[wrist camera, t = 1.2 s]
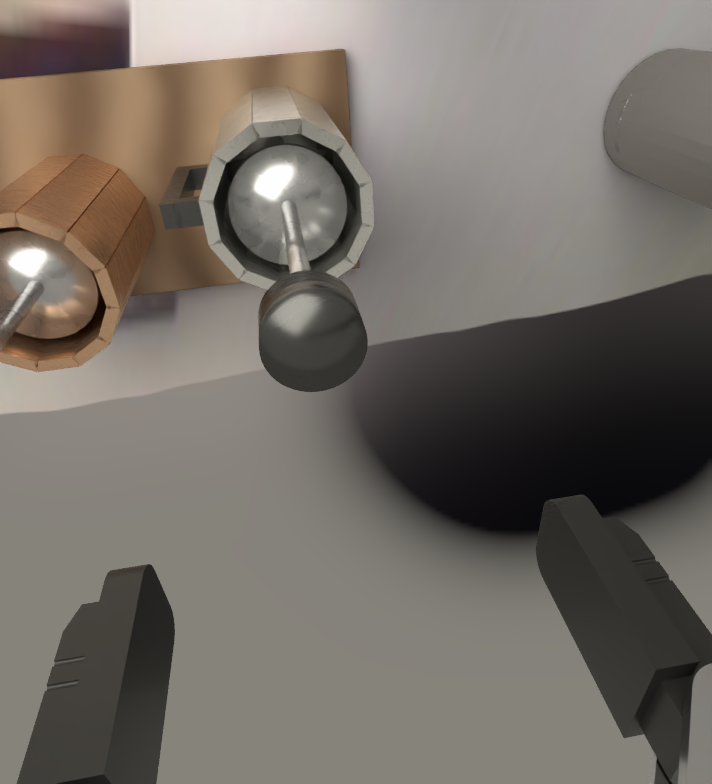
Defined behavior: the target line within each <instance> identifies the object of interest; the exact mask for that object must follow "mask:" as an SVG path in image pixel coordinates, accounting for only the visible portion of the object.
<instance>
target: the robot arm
mask: <svg viewBox="0 0 712 784" xmlns="http://www.w3.org/2000/svg"><path fill="white" fill-rule="evenodd" d="M604 139H605V146H606V149H607V151H608V154H609V156H610V158H611V159H612V161H613V162H614V163H615V164H616V165H617V166H618V167H620V168H621V169H622V170H625V171H627V172H629V173H631V174H634V175H636V176H638V177H640V178H642V179H645V180H647V181H649V182H651V183H653V184H655V185H658V186H660V187H662V188H665V189H667V190H669V191H671V192H674V193H676V194H678V195H680V196H683V197H685V198H687V199H690V200H692V201H694V202H696V203H699V204H701V205H703V206H706V207H708V208H710V209H712V52H709V51H699V50H689V49H669V50H665V51H662V52H659V53H656V54H654V55H653V56H651V57H649V58H647V59H646V60H644V61H643V62H641V63H640V64H639V65H638V66H637V67H635V68H634V69H633V70H632V71H631V72H630V73H629V74H628V76H627V77H626V78H625V79H624V80H623V81H622V83H621V84H620V86H619V88H618V89H617V91H616V92H615V94H614V96H613V98H612V101H611V103H610V105H609V107H608V111H607V115H606V119H605V127H604ZM536 556H537V562H538V566H539V569H540V572H541V575H542V577H543V579H544V581H545V583H546V585H547V587H548V589H549V591H550V593H551V595H552V597H553V599H554V601H555V603H556V605H557V607H558V609H559V611H560V613H561V615H562V617H563V619H564V621H565V623H566V625H567V627H568V629H569V631H570V633H571V635H572V636H573V639H574V640H575V642H576V644H577V646H578V648H579V650H580V652H581V654H582V656H583V658H584V660H585V662H586V664H587V666H588V668H589V670H590V672H591V674H592V676H593V678H594V680H595V682H596V684H597V686H598V688H599V690H600V692H601V694H602V696H603V698H604V700H605V702H606V704H607V706H608V708H609V710H610V711H611V713H612V716H613V718H614V719H615V721H616V723H617V725H618V727H619V729H620V731H621V733H622V735H623V737H624V738H627V737H632V736H637V735H642V734H645V736H646V738H647V740H648V742H649V744H650V745H651V747H652V749H653V753H652V757H651V765H650V774H649V783H648V784H712V635H711V633H710V632H709V630H708V629H707V628H706V626H705V625H704V624H703V622H702V621H701V619H700V618H699V617H698V615H697V614H696V613H695V611H694V610H693V608H692V607H691V606H690V604H689V603H688V602H687V600H686V599H685V597H684V596H683V595H682V593H681V592H680V591H679V589H678V588H677V587H676V585H675V584H674V583H673V581H670V580H669V578H668V574H667V573H666V571H665V570H664V569H663V567H662V566H661V565H660V563H659V562H656V560H655V556H654V555H653V554H652V552H651V551H650V550H649V548H648V547H647V545H646V544H645V543H644V541H643V540H642V539H641V537H640V536H639V534H637V533H636V532H635V531H633V530H632V529H630V528H629V527H628V526H627V525H625V524H624V523H623V522H621V521H620V520H619V519H617V518H616V517H609V518H603V519H602V517H601V516H600V514H599V513H598V511H597V510H596V508H595V507H594V505H593V504H592V503H591V501H590V500H589V499H588V498H587V497H586V496H584V495H578V496H571V497H565V498H559V499H553V500H548V501H546V502H545V504H544V508H543V513H542V519H541V524H540V529H539V535H538V540H537V546H536ZM174 635H175V629H174V617H173V612H172V609H171V606H170V604H169V602H168V600H167V597H166V595H165V593H164V590H163V588H162V586H161V584H160V581H159V579H158V577H157V574H156V572H155V570H154V568H153V566H152V565H150V564H148V565H141V566H135V567H129V568H123V569H118V570H112V571H110V572H108V574H107V576H106V578H105V581H104V585H103V589H102V593H101V597H100V600H99V602H94V603H88V604H83V605H81V607H80V608H79V610H78V611H77V613H76V614H75V616H74V617H73V618H72V620H71V621H70V623H69V624H68V626H67V627H66V628H65V630H64V632H63V634H62V638H61V641H60V644H59V647H58V650H57V654H56V657H55V660H54V661H55V665H54V667H52V670H51V673H50V677H49V680H48V683H47V691H45V693H44V696H43V699H42V703H41V706H40V709H39V712H38V716H37V719H36V722H35V725H34V729H33V732H32V735H31V738H30V742H29V745H28V748H27V752H26V755H25V758H24V761H23V765H22V768H21V771H20V774H19V778H18V781H17V784H156V781H157V773H158V764H159V758H160V749H161V741H162V734H163V726H164V718H165V710H166V701H167V694H168V686H169V678H170V670H171V662H172V653H173V645H174Z"/></svg>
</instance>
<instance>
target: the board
mask: <svg viewBox="0 0 712 784" xmlns="http://www.w3.org/2000/svg"><path fill="white" fill-rule="evenodd" d="M281 86H287V87H288V86H289V87H290V88H292V89H294V90H296V91H298V92H300V93H302V94H304V95H306V96H308V97H310V98H312V99H314V100H315V101H317V102H319V103H320V104H321V105H322V107H323V108H324V110H325V111H326V112H327V114H328V115H329V117H330V118H331V119H332V121H333V122H334V124H335V125H336V127H337V128H338V129H339V131H340V132H341V134H342V135H343V136H344V138H345V139H346V141H347V142H348V144H349V145H350V147H351V134H350V119H349V104H348V89H347V74H346V58H345V50H344V49H335V50H323V51H312V52H301V53H290V54H278V55H267V56H256V57H245V58H233V59H222V60H211V61H200V62H188V63H177V64H166V65H155V66H143V67H132V68H121V69H109V70H98V71H87V72H76V73H64V74H53V75H42V76H31V77H19V78H8V79H0V191H1V190H3V189H4V188H5V187H7V186H8V185H10V184H11V183H12V182H14V181H15V180H16V179H18V178H19V177H21V176H22V175H23V174H25V173H26V172H27V171H29V170H30V169H31V168H33V167H34V166H36V165H37V164H38V163H40V162H41V161H42V160H44V159H45V158H47V157H52V156H61V155H71V154H81V153H83V154H86V155H89V156H91V157H94V158H96V159H98V160H101V161H103V162H106V163H108V164H110V165H113V166H115V167H118V168H119V170H120V169H121V170H122V171H123V172H124V173H125V175H126V176H127V177H128V178H129V179H130V180H131V181H132V182H133V183H134V184H135V185H136V187H137V188H138V189H139V190H140V191H141V192H142V193H143V194H144V195H145V197H146V200H147V203H148V207H149V210H150V214H151V217H152V221H153V224H154V228H155V229H154V233H153V237H152V240H151V244H150V247H149V250H148V254H147V257H146V259H145V262H144V264H143V267H142V269H141V271H140V274H139V276H138V278H137V281H136V283H135V285H134V288H133V290H132V293H131V295H130V296H136V295H144V294H152V293H160V292H168V291H176V290H184V289H193V288H201V287H209V286H217V285H225V284H233V283H241V282H244V281H241V280H240V278H239V279H238V278H237V277H236V276H235V275H234V274H233V273H232V271H231V270H230V269H229V268H228V267H227V266H226V265H225V264H224V263H223V261H222V260H221V259H220V258H219V257H218V256H217V255H216V254H215V252H214V251H213V250H212V249H211V248H210V247H209V246H210V245H208V240H207V236H206V232H205V227H204V225H203V226H194V227H185V228H176V229H168V230H166V229H165V225H164V222H163V218H162V214H161V211H160V207H159V204H160V202H161V200H162V198H163V195H164V193H165V191H166V189H167V187H168V185H169V183H170V181H171V178H172V176H173V174H174V172H175V170H176V168H177V167H183V166H193V165H202V164H209V160H210V157H211V153H212V150H213V146H214V143H215V140H216V137H217V134H218V130H219V127H220V124H221V121H222V118H223V115H224V113H225V111H226V110H227V109H229V108H230V107H231V106H232V105H233V104H235V103H236V102H237V101H238V100H239V99H241V98H242V97H243V96H244V95H246V94H247V93H248V92H249V91H250V90H252V91H253V89H259V88H270V87H281ZM200 193H201V190H195V192H194V195H193V196H200ZM354 265H355V264H354ZM354 268H359V259H358V261H357V263H356V265H355V266H354V267H352V268H351V269H354Z"/></svg>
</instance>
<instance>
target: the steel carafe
mask: <svg viewBox="0 0 712 784" xmlns="http://www.w3.org/2000/svg"><path fill="white" fill-rule="evenodd" d="M278 143H292V144H298V145H302V146H305V147H308V148H310V149H312V150H314V151H316V152H318V153H319V154H320V155H322V156H323V157H324V158H325V159H326V160H327V161H328V162H329V163H330V164H331V165H332V166H333V168H334V169H335V170H336V172H337V174H338V175H339V177H340V179H341V182H342V184H343V186H344V190H345V193H346V200H347V213H346V219H345V223H344V226H343V229H342V231H341V233H340V235H339V237H338V239H337V240H336V241H335V243H334V244H333V245H332V246H331V247H330V248H329V249H328V250H327V251H326V252H325V253H323V254H322V255H320V256H319V257H317V258H315V259H313V260H311V261H309V265H310V269H311V270H315V271H321V272H325V273H328V274H330V275H332V276H335V277H336V278H338V277H339V276H341V275H342V274H344V273H345V272H347V271H348V270H349V269H351V268H352V267H354V266H355V265H356V263H357V261H358V259H359V257H360V255H361V253H362V251H363V249H364V247H365V245H366V243H367V241H368V239H369V237H370V235H371V233H372V231H373V229H374V206H373V185H372V180H371V178H370V177H369V175H368V174H367V172H366V170H365V169H364V167H363V166H362V164H361V163H360V161H359V159H358V158H357V156H356V155H355V153H354V152H353V150H352V148H351V147H350V145H349V144H348V142H347V141H346V139H345V138H344V136H343V135H342V134H341V132H340V131H339V129H338V128H337V127H336V125H335V124H334V122H333V121H332V119H331V118H330V117H329V115H328V114H327V112H326V111H325V110H324V108H323V107H322V105H321V104H320V103H319V102H317V101H315V100H314V99H312V98H310V97H308V96H306V95H304V94H302V93H300V92H298V91H296V90H294V89H292V88H290V87H289V86H288V87H287V86H281V87H270V88H259V89H253V91H252V90H250V91H249V92H248V93H247V94H246V95H244V96H243V97H242V98H241V99H239V100H238V101H237V102H236V103H235V104H233V105H232V106H231V107H230V108H229V109H227V110H226V111H225V113H224V115H223V118H222V121H221V124H220V127H219V130H218V134H217V137H216V140H215V143H214V146H213V150H212V153H211V157H210V160H209V164H202V165H193V166H183V167H177V168H176V170H175V172H174V174H173V176H172V178H171V181H170V183H169V185H168V187H167V189H166V191H165V193H164V195H163V198H162V200H161V202H160V204H159V207H160V211H161V214H162V218H163V222H164V225H165V229H166V230H168V229H176V228H185V227H194V226H203V225H204V227H205V232H206V236H207V240H208V245H210V246H209V247H210V248H211V249H212V250H213V251H214V252H215V254H216V255H217V256H218V257H219V258H220V259H221V260H222V261H223V263H224V264H225V265H226V266H227V267H228V268H229V269H230V270H231V271H232V273H233V274H234V275H235V276H236V277H237V278H238V279H239V278H240V280H241V281H244V282H246V283H249V284H252V285H255V286H257V287H260V288H263V289H265V290H268V289H269V288H270V287H271V286H272V285H273V284H274V283H275V282H276V281H277V280H279V279H280V278H282V277H284V276H286V275H288V274H290V271H289V265H286V264H278V263H273V262H270V261H267V260H265V259H263V258H261V257H259V256H258V255H256V254H254V253H253V252H252V251H251V250H249V249H248V248H247V247H246V246H245V245H244V244H243V242H242V241H241V240H240V238H239V237H238V235H237V234H236V232H235V230H234V228H233V225H232V223H231V219H230V215H229V192H230V187H231V183H232V180H233V178H234V175H235V173H236V171H237V170H238V168H239V167H240V165H241V164H242V163H243V162H244V161H245V160H246V159H247V158H248V157H249V156H250V155H251V154H253V153H254V152H256V151H257V150H259V149H261V148H263V147H266V146H269V145H273V144H278ZM195 190H201V193H200V196H193V195H194V192H195ZM354 264H355V265H354Z"/></svg>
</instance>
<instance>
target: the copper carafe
mask: <svg viewBox="0 0 712 784" xmlns="http://www.w3.org/2000/svg"><path fill="white" fill-rule="evenodd" d="M14 228H23V229H26V230H29V231H32V232H35V233H37V234H40V235H43V236H46V237H49V238H52V239H54V240H57V241H60V242H62V243H63V244H64V245H65V246H66V247H67V248H69V249H70V250H71V251H72V252H73V253H74V254H75V255H76V256H77V257H78V258H79V259H80V260H81V261H82V262H84V263H85V264H86V265H87V266H88V267H89V268H90V269H91V270H92V271H93V272H94V274H95V276H96V279H97V282H98V285H99V290H100V297H99V303H98V306H97V309H96V311H95V313H94V315H93V316H92V318H91V320H90V321H89V322H88V323H87V324H86V325H85V326H84V327H83V328H82V329H80V330H79V331H77V332H75V333H73V334H71V335H68V336H65V337H60V338H52V339H45V338H35V337H31V336H27V335H23V334H21V333H18V332H16V331H15V332H14V333H13V335H12V336H11V338H10V339H9V340H8V342H7V343H6V344H5V346H4V347H3V348H2V350H1V351H0V362H2V363H6V364H10V365H13V366H17V367H21V368H24V369H28V370H32V371H35V372H37V371H38V372H41V371H49V370H56V369H64V368H71V367H79V366H81V365H82V364H84V363H85V362H86V361H88V360H89V359H90V358H92V357H93V356H94V355H96V354H97V353H98V352H100V351H101V350H102V349H104V348H105V347H106V346H108V345H109V344H110V342H111V340H112V338H113V335H114V333H115V331H116V328H117V326H118V323H119V321H120V319H121V316H122V314H123V312H124V309H125V307H126V304H127V302H128V300H129V297H130V295H131V293H132V290H133V288H134V285H135V283H136V281H137V278H138V276H139V274H140V271H141V269H142V267H143V264H144V262H145V259H146V257H147V254H148V250H149V247H150V244H151V240H152V237H153V233H154V229H155V228H154V224H153V221H152V217H151V214H150V210H149V207H148V203H147V200H146V197H145V195H144V194H143V193H142V192H141V191H140V190H139V189H138V188H137V187H136V185H135V184H134V183H133V182H132V181H131V180H130V179H129V178H128V177H127V176H126V175H125V173H124V172H123V171H122V170H121V169H120V170H119V168H118V167H115V166H113V165H110V164H108V163H106V162H103V161H101V160H98V159H96V158H94V157H91V156H89V155H86V154H83V153H81V154H71V155H61V156H52V157H47V158H45V159H44V160H42V161H41V162H40V163H38V164H37V165H36V166H34V167H33V168H31V169H30V170H29V171H27V172H26V173H25V174H23V175H22V176H21V177H19V178H18V179H16V180H15V181H14V182H12V183H11V184H10V185H8V186H7V187H5V188H4V189H3V190H1V191H0V232H2V231H5V230H8V229H14Z"/></svg>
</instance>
